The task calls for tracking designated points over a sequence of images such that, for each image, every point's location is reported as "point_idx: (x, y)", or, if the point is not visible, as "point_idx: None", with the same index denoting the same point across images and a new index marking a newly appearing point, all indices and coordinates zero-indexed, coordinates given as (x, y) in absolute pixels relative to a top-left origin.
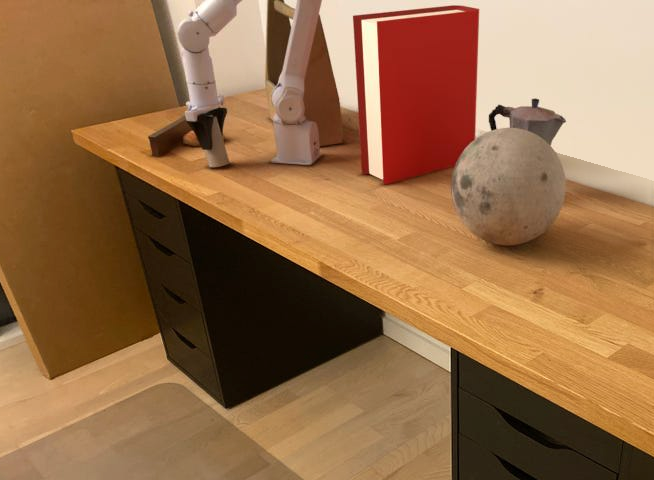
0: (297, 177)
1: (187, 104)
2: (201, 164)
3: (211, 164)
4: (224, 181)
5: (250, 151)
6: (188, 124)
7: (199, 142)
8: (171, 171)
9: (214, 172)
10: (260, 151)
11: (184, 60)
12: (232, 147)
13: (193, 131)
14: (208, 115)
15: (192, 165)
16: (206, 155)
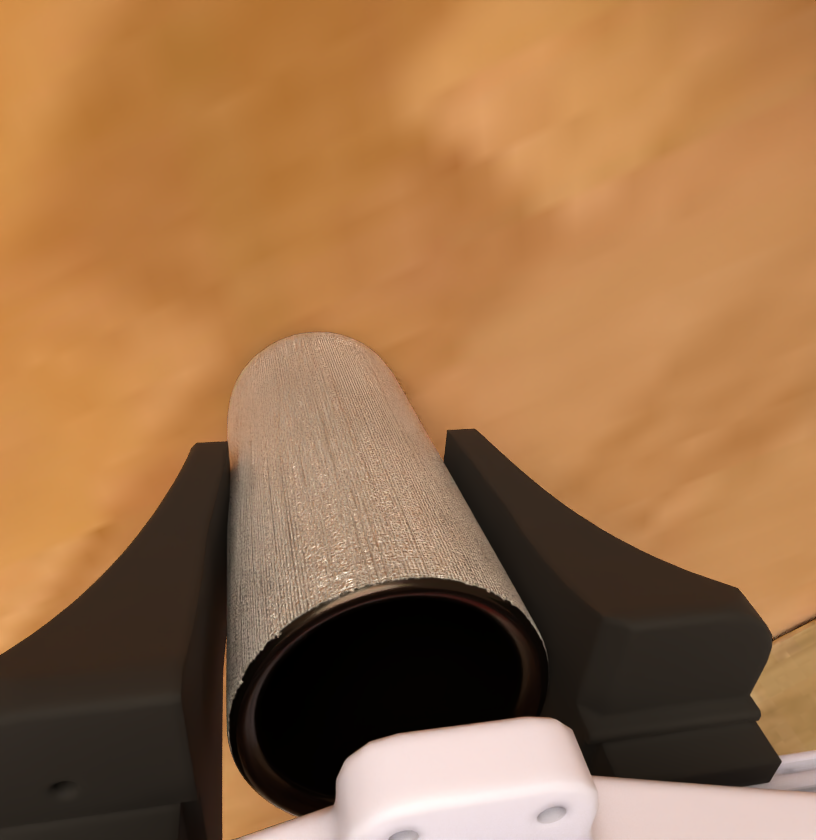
0: (237, 810)
1: (344, 820)
2: (327, 243)
3: (229, 405)
4: (3, 569)
5: (675, 457)
6: (15, 647)
7: (175, 486)
8: (25, 23)
9: (161, 430)
10: (671, 510)
11: None
12: (788, 300)
13: (112, 566)
14: (537, 680)
15: (279, 171)
16: (246, 407)
